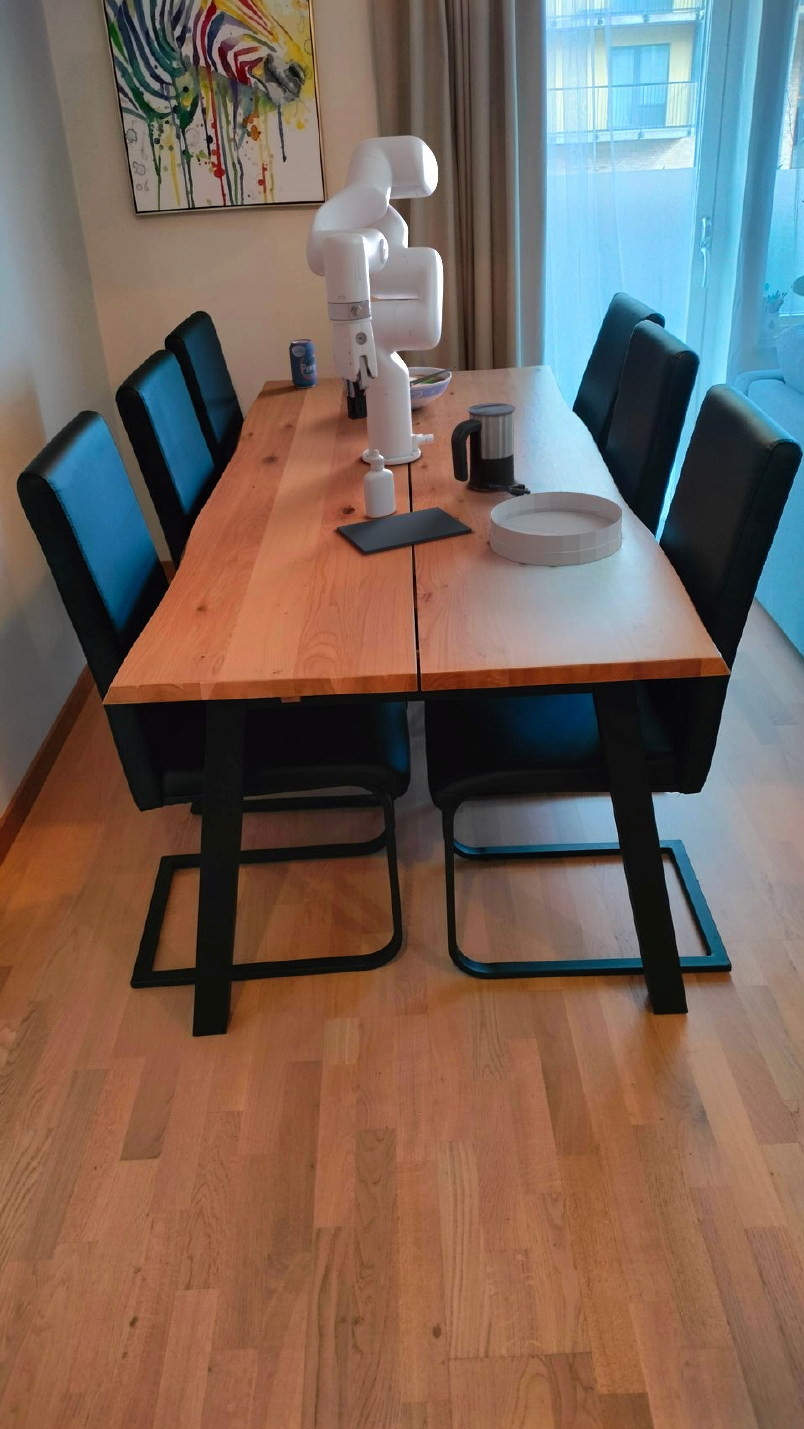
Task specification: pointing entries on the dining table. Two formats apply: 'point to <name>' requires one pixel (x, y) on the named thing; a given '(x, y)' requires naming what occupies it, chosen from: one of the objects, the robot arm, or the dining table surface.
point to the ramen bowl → (427, 384)
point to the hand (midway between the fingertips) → (357, 417)
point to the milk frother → (487, 449)
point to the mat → (403, 530)
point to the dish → (556, 528)
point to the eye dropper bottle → (379, 489)
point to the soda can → (303, 363)
